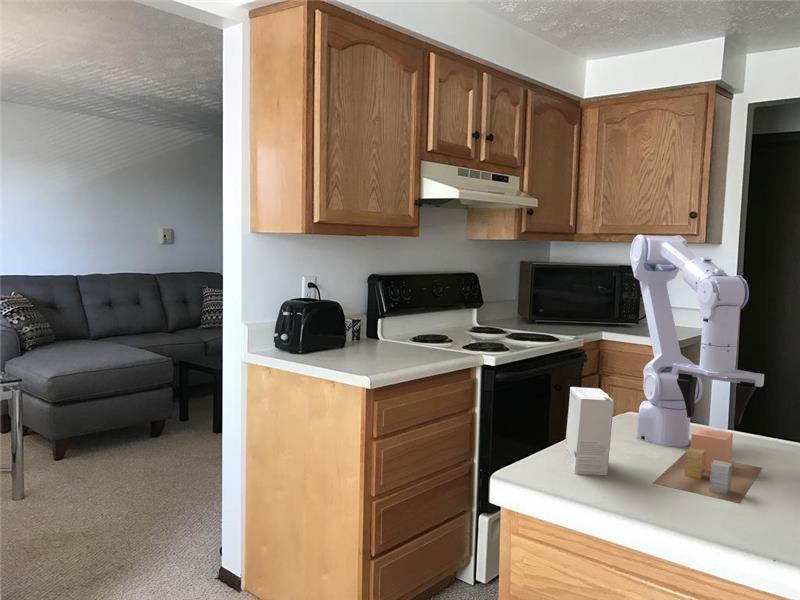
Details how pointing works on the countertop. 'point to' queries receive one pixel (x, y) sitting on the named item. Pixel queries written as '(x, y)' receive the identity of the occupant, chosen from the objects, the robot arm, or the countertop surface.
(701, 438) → the salmon pink cube
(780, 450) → the countertop surface
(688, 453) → the butter yellow cube
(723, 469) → the white sugar cube
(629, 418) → the countertop surface
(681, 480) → the board
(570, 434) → the skincare box
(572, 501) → the countertop surface
